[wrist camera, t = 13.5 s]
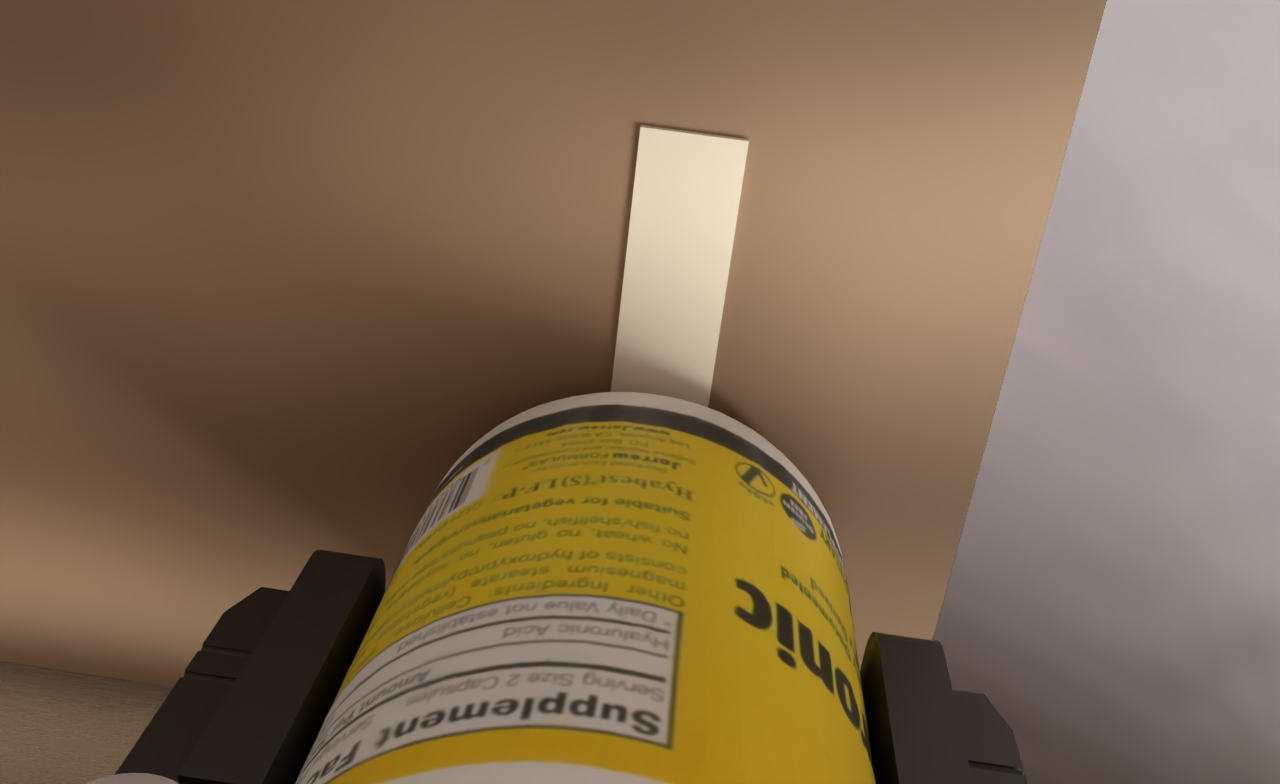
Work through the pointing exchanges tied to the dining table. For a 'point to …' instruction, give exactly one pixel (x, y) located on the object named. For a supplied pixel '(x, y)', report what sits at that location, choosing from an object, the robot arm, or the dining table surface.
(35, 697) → the metal straightedge
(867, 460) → the brown flat wooden board
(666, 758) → the supplement bottle
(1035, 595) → the dining table surface
